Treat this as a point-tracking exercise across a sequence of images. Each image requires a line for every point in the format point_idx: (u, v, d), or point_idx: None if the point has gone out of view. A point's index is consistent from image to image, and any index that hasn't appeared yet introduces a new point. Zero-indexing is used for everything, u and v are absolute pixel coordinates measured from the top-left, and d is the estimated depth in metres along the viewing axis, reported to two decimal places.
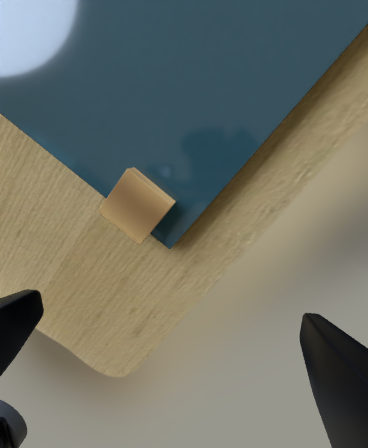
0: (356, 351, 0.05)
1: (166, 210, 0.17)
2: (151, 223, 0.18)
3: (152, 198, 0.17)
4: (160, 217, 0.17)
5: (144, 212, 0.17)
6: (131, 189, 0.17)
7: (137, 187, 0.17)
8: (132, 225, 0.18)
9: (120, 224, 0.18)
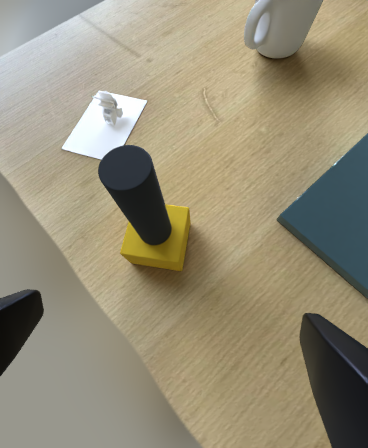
0: (356, 351, 0.05)
1: None
2: None
3: None
4: None
5: None
6: None
7: None
8: None
9: None
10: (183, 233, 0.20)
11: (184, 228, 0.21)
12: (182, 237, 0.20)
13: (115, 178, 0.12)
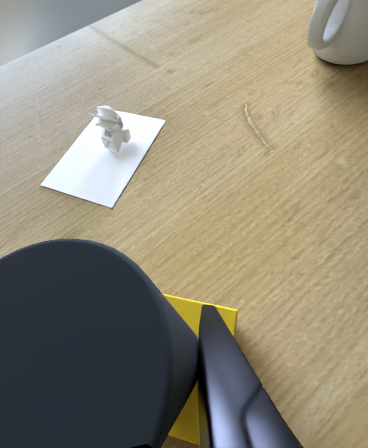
0: (218, 337, 0.06)
1: None
2: None
3: None
4: None
5: None
6: None
7: None
8: None
9: None
10: None
11: None
12: None
13: None
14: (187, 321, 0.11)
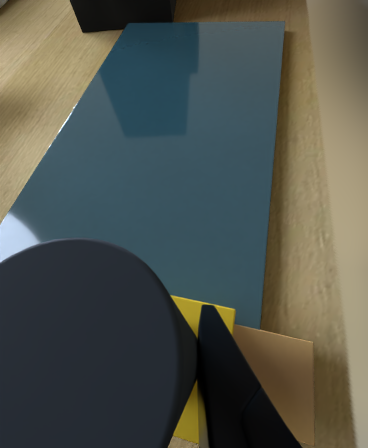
0: (217, 337, 0.06)
1: (311, 353, 0.12)
2: (305, 387, 0.11)
3: (283, 346, 0.12)
4: (311, 370, 0.11)
5: (285, 375, 0.11)
6: (250, 349, 0.12)
7: (256, 341, 0.12)
8: (281, 410, 0.11)
9: None
10: None
11: None
12: None
13: None
14: (186, 320, 0.11)
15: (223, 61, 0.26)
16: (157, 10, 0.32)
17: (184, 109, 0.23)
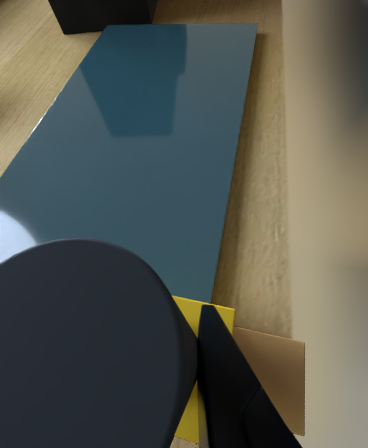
0: (217, 337, 0.06)
1: (302, 352, 0.13)
2: (296, 384, 0.12)
3: (277, 346, 0.13)
4: (302, 367, 0.12)
5: (279, 372, 0.12)
6: (246, 348, 0.13)
7: (252, 342, 0.13)
8: (274, 404, 0.12)
9: None
10: None
11: None
12: None
13: None
14: (186, 320, 0.11)
15: (195, 62, 0.27)
16: (136, 12, 0.33)
17: (154, 109, 0.24)
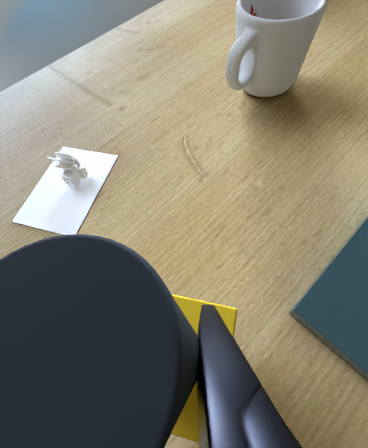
0: (217, 337, 0.06)
1: None
2: None
3: None
4: None
5: None
6: None
7: None
8: None
9: None
10: None
11: None
12: None
13: None
14: (187, 319, 0.11)
15: None
16: None
17: None
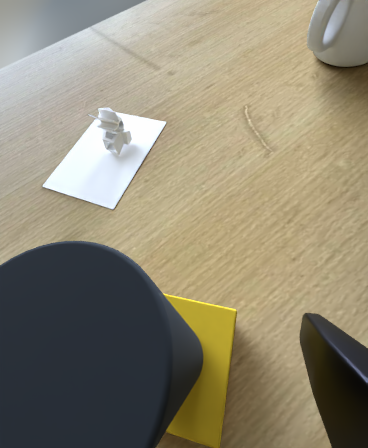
0: (356, 351, 0.05)
1: None
2: None
3: None
4: None
5: None
6: None
7: None
8: None
9: None
10: (227, 370, 0.10)
11: (229, 358, 0.10)
12: (225, 381, 0.10)
13: None
14: (187, 321, 0.11)
15: None
16: None
17: None
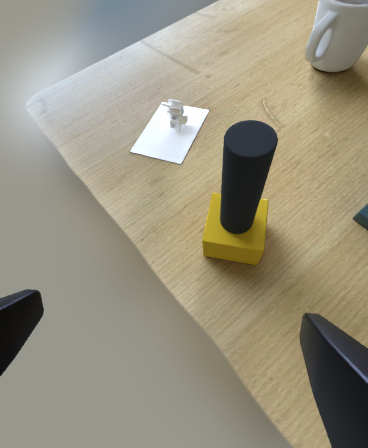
0: (356, 351, 0.05)
1: None
2: None
3: None
4: None
5: None
6: None
7: None
8: None
9: None
10: (265, 223, 0.20)
11: (265, 219, 0.21)
12: (265, 227, 0.20)
13: (243, 147, 0.13)
14: None
15: None
16: None
17: None
